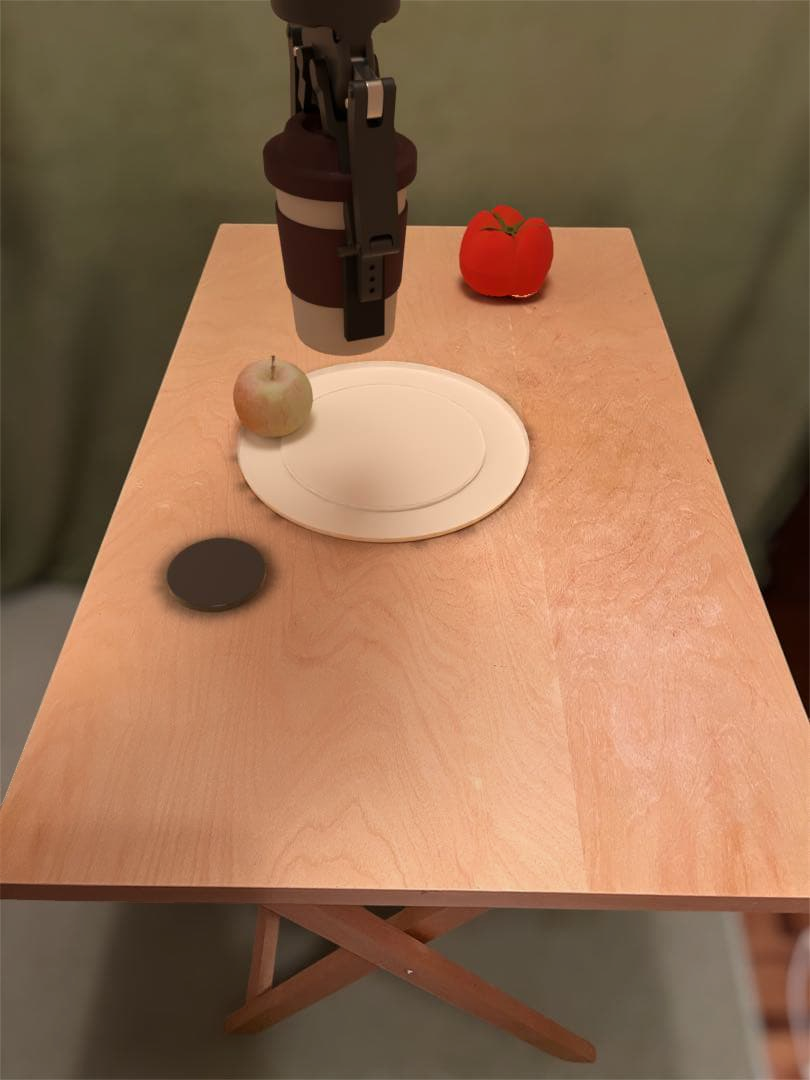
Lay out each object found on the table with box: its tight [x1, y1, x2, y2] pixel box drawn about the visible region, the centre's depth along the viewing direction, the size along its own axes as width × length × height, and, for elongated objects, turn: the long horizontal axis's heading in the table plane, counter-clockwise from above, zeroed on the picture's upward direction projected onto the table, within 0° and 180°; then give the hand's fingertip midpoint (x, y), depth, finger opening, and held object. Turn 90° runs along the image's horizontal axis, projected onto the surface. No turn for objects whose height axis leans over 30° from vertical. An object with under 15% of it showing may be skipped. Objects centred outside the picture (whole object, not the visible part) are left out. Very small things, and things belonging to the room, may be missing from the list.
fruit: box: [232, 354, 313, 437], centre depth 87 cm, size 8×7×8 cm
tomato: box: [458, 204, 555, 299], centre depth 109 cm, size 11×12×9 cm
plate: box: [236, 360, 530, 543], centre depth 88 cm, size 28×28×1 cm
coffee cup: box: [262, 111, 418, 357], centre depth 63 cm, size 10×10×15 cm
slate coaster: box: [166, 537, 267, 613], centre depth 75 cm, size 8×8×1 cm
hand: (344, 305), depth 66 cm, fingers closed on coffee cup, 8 cm apart
